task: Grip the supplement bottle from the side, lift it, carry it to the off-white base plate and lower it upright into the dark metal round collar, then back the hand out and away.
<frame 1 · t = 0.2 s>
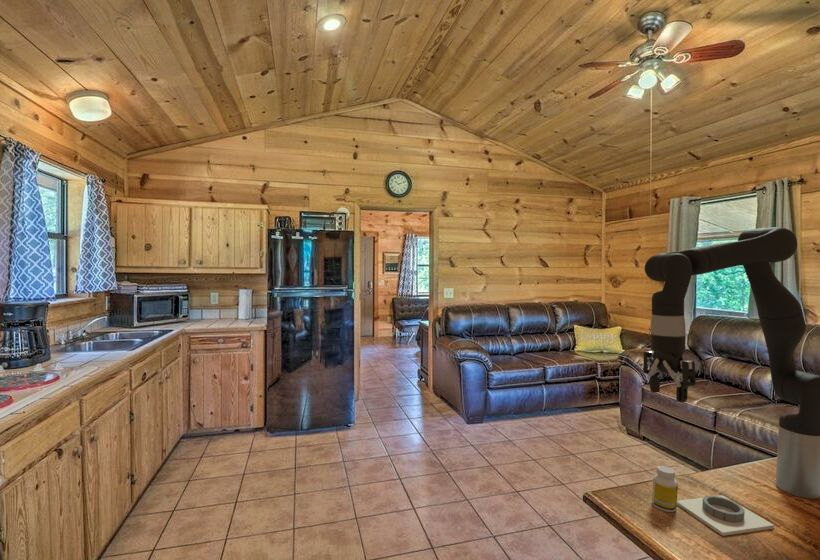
hand: (667, 396, 106), 29 cm above the table, tool pointing down, fingers open, 8 cm apart
supplement bottle: (664, 507, 108), on the table
socket plate: (722, 515, 104), on the table
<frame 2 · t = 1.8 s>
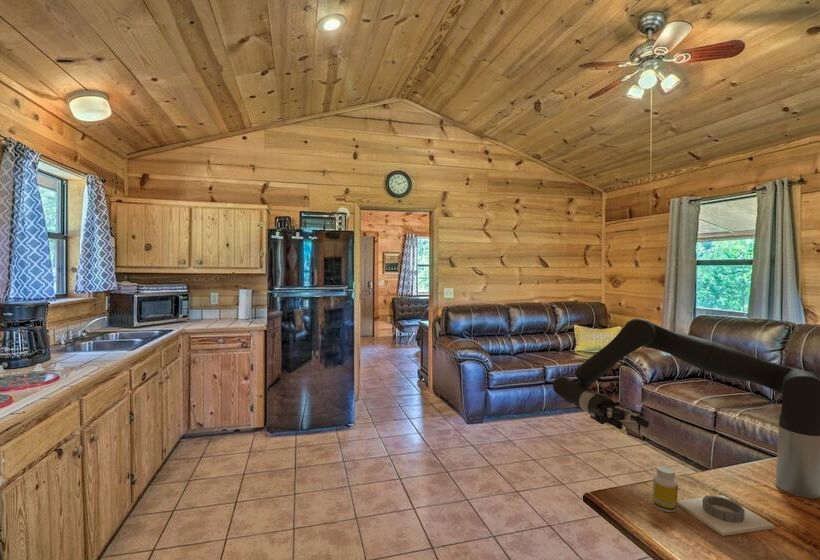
hand: (634, 425, 118), 17 cm above the table, tool horizontal, fingers open, 8 cm apart
nothing on the table moved.
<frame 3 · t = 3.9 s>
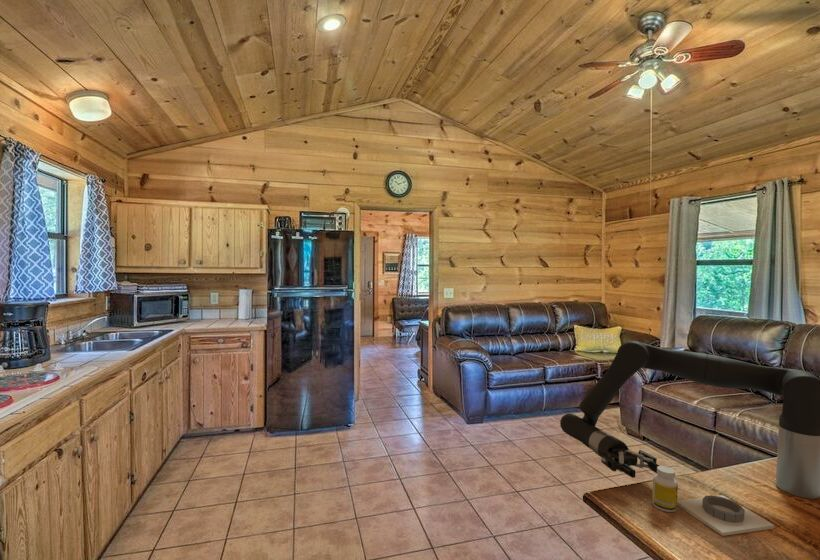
hand: (648, 472, 113), 6 cm above the table, tool horizontal, fingers open, 8 cm apart
nothing on the table moved.
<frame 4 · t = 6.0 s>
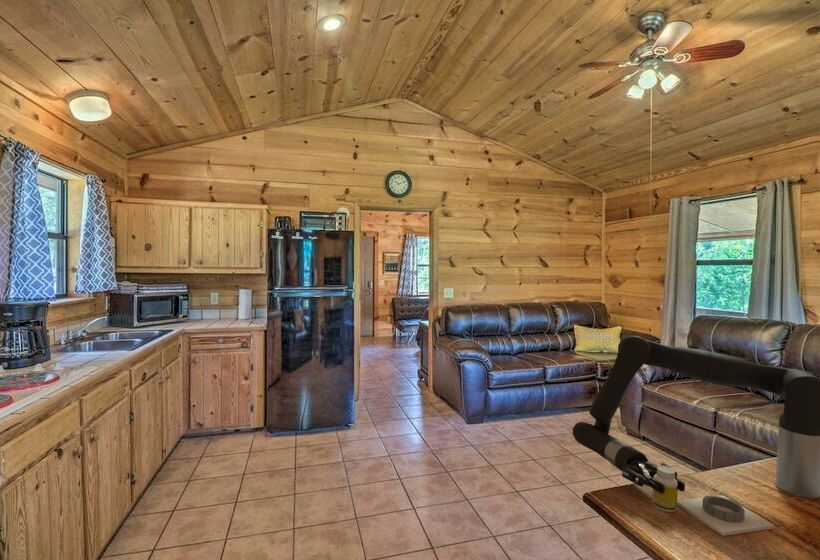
hand: (673, 488, 105), 6 cm above the table, tool horizontal, fingers closed on supplement bottle, 5 cm apart
supplement bottle: (664, 507, 108), on the table, touching gripper
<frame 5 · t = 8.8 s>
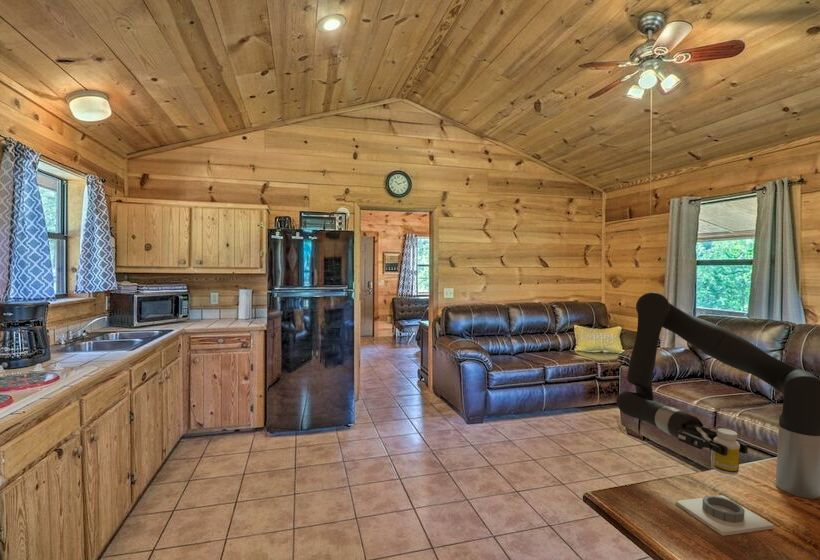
hand: (736, 450, 101), 18 cm above the table, tool horizontal, fingers closed on supplement bottle, 5 cm apart
supplement bottle: (724, 470, 104), point 11 cm above the table, touching gripper
when the fingers open (8 cm above the table, at t = 11.6 s): supplement bottle stays where it is, resting on socket plate.
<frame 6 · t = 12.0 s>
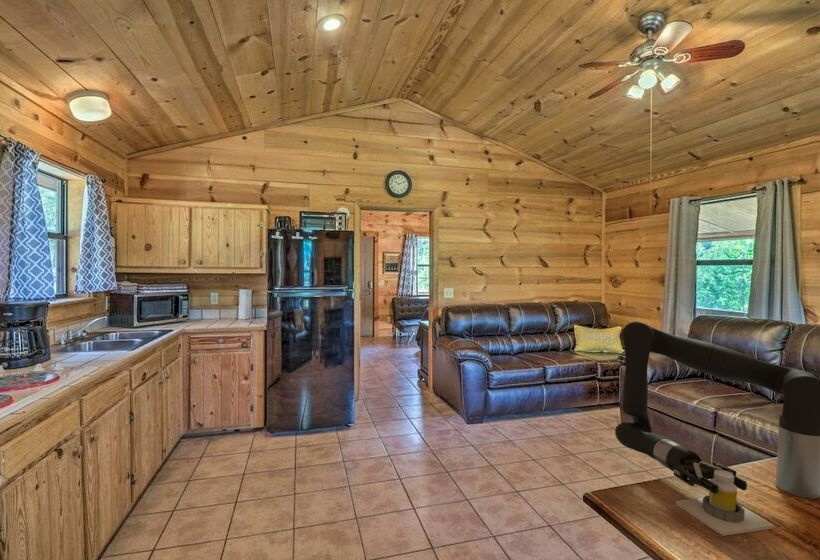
hand: (731, 488, 102), 8 cm above the table, tool horizontal, fingers open, 8 cm apart
supplement bottle: (721, 512, 104), point 1 cm above the table, touching socket plate
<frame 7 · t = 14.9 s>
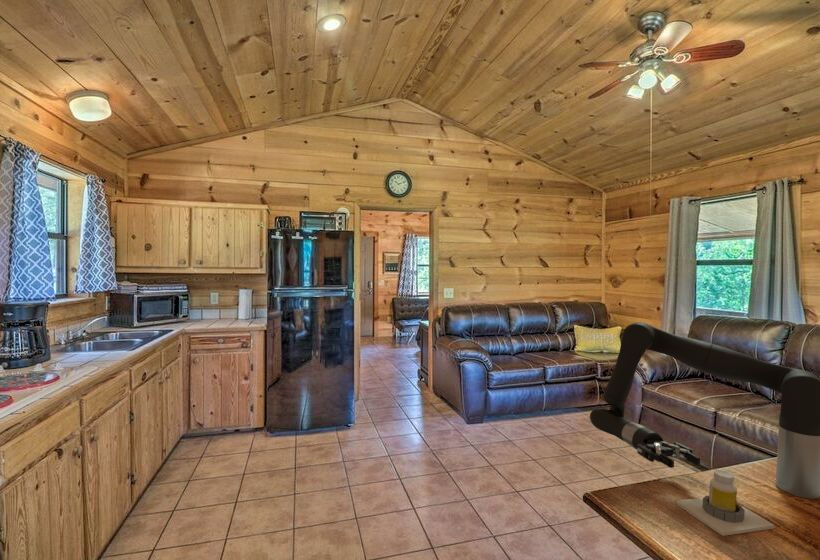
hand: (686, 463, 115), 8 cm above the table, tool horizontal, fingers open, 8 cm apart
nothing on the table moved.
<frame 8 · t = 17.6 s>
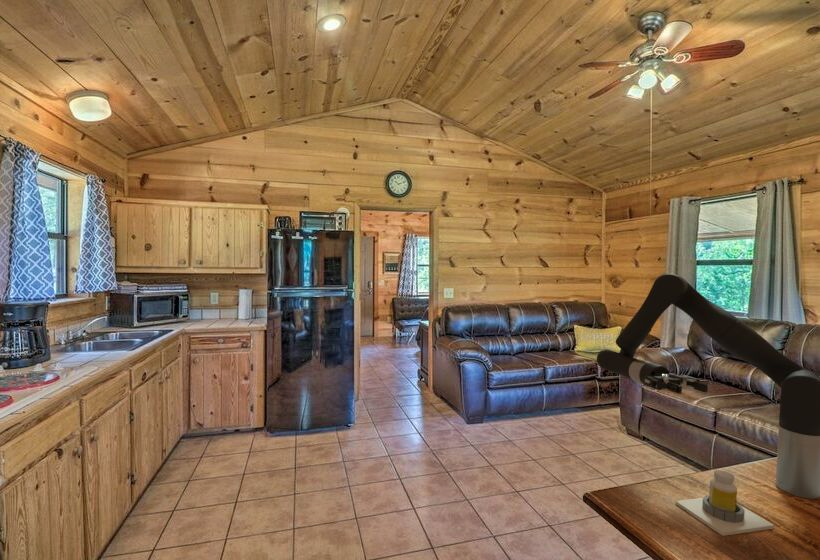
hand: (693, 389, 115), 28 cm above the table, tool horizontal, fingers open, 8 cm apart
nothing on the table moved.
at the end: supplement bottle 0.2 cm off-centre on the socket plate, point 0.6 cm above the socket plate's base; supplement bottle tilted 0°; the gripper is holding nothing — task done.
